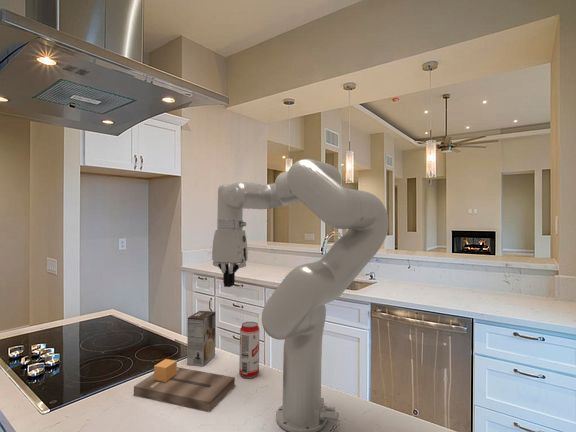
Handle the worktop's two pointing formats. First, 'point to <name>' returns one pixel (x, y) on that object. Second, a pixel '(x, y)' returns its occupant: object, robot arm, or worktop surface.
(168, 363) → the block
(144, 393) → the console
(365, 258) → the robot arm
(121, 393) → the worktop surface
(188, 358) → the coffee box
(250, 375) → the beer can
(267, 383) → the worktop surface
